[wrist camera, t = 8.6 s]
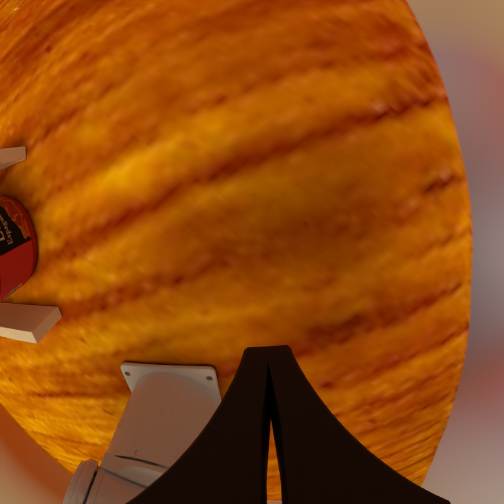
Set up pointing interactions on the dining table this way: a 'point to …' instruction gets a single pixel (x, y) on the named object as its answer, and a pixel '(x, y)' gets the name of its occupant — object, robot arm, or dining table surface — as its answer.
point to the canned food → (15, 246)
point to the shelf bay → (20, 315)
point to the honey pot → (273, 502)
